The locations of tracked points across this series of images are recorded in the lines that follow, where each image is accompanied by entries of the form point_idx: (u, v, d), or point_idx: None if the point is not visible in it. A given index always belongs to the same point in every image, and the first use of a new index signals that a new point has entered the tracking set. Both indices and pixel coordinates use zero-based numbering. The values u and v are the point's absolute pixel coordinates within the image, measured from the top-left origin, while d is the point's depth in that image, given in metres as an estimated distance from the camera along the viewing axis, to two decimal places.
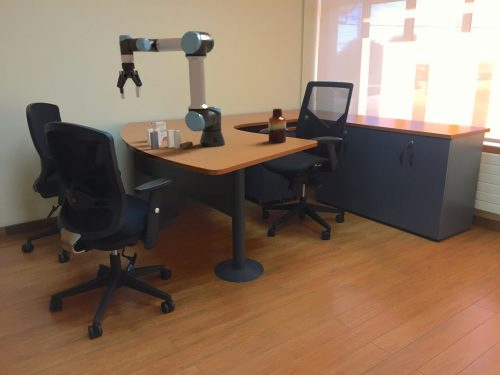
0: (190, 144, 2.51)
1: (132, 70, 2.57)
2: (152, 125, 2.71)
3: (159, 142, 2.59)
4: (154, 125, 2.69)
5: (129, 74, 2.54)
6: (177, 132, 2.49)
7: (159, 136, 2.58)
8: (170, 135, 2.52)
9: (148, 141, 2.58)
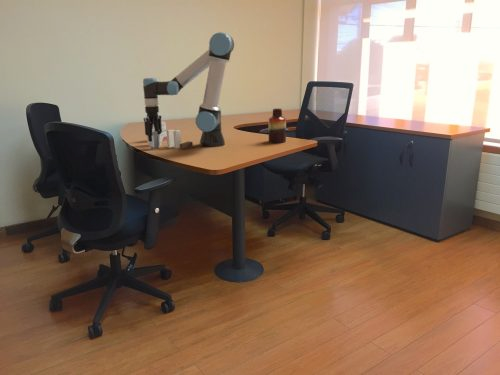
0: (190, 144, 2.51)
1: (156, 113, 2.45)
2: None
3: None
4: None
5: (153, 118, 2.42)
6: (177, 132, 2.49)
7: None
8: (170, 135, 2.52)
9: (148, 141, 2.58)
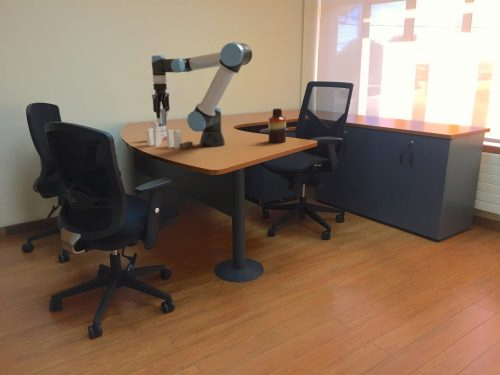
0: (190, 144, 2.51)
1: (164, 90, 2.50)
2: (152, 125, 2.71)
3: (159, 142, 2.59)
4: (154, 125, 2.69)
5: (161, 95, 2.46)
6: (177, 132, 2.49)
7: (159, 136, 2.58)
8: (170, 135, 2.52)
9: (148, 141, 2.58)
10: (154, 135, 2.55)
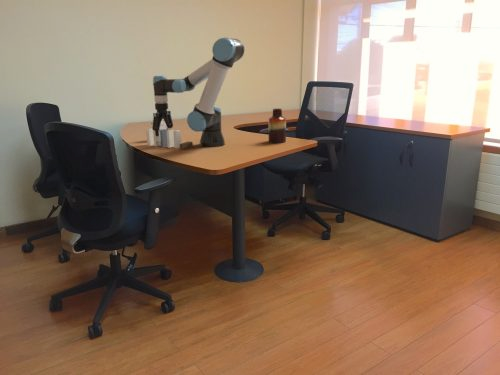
0: (190, 144, 2.51)
1: (165, 110, 2.52)
2: (152, 125, 2.71)
3: (159, 142, 2.59)
4: None
5: (163, 115, 2.49)
6: (177, 132, 2.49)
7: None
8: (170, 135, 2.52)
9: (148, 141, 2.58)
10: (154, 135, 2.55)
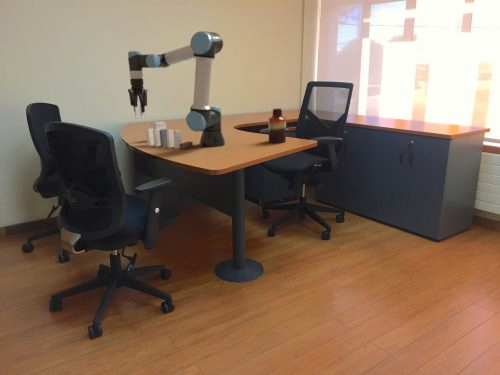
0: (190, 144, 2.51)
1: (139, 86, 2.52)
2: (152, 125, 2.71)
3: (159, 142, 2.59)
4: (154, 125, 2.69)
5: (133, 90, 2.54)
6: (177, 132, 2.49)
7: (159, 136, 2.58)
8: (170, 135, 2.52)
9: (148, 141, 2.58)
10: (154, 135, 2.55)
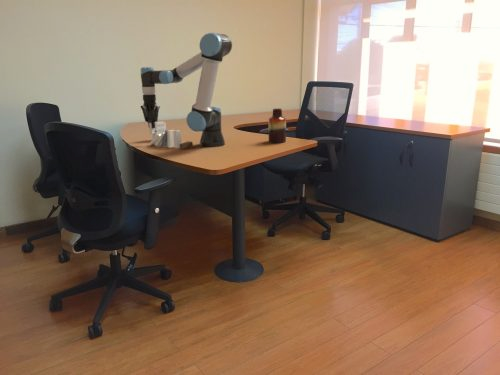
0: (190, 144, 2.51)
1: (152, 102, 2.51)
2: None
3: (161, 143, 2.58)
4: None
5: (146, 106, 2.53)
6: (177, 132, 2.49)
7: None
8: (171, 135, 2.51)
9: (151, 142, 2.57)
10: (160, 137, 2.53)
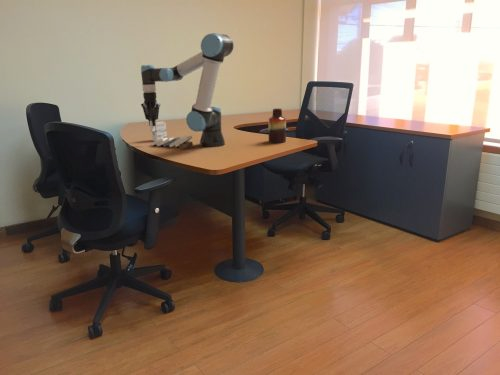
0: (190, 144, 2.51)
1: (153, 99, 2.51)
2: None
3: None
4: None
5: (146, 104, 2.53)
6: (188, 139, 2.47)
7: None
8: (179, 141, 2.50)
9: (153, 143, 2.57)
10: (165, 141, 2.53)
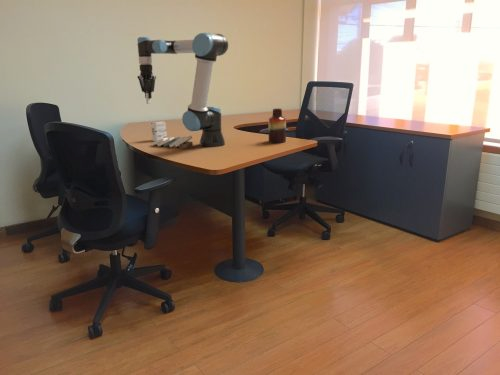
0: (190, 144, 2.51)
1: (149, 71, 2.55)
2: (152, 125, 2.71)
3: (163, 144, 2.58)
4: (154, 125, 2.69)
5: (143, 76, 2.57)
6: (188, 139, 2.47)
7: None
8: (179, 141, 2.50)
9: (154, 143, 2.57)
10: (165, 141, 2.52)
